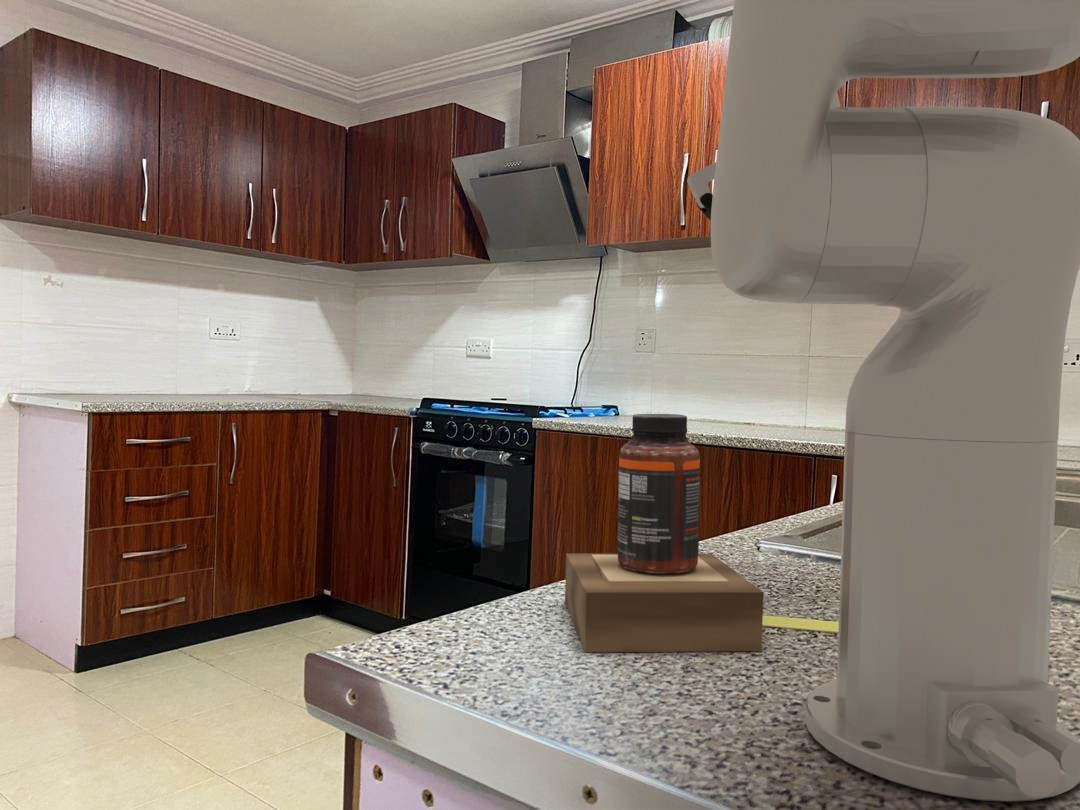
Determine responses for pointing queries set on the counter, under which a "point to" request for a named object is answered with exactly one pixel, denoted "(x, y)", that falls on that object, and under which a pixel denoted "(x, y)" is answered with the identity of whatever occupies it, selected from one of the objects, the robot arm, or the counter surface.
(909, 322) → the robot arm
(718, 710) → the counter surface
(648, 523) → the supplement bottle
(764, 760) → the counter surface
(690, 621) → the base slab
